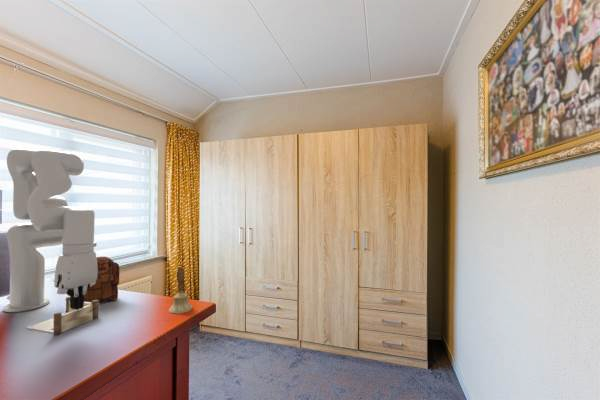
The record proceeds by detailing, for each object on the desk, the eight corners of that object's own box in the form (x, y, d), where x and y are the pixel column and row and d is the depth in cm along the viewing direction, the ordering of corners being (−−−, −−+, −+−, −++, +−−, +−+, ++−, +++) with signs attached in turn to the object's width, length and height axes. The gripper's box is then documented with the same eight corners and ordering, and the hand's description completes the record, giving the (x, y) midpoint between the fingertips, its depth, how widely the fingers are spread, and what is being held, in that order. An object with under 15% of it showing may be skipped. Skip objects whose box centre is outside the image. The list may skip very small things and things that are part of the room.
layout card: (26, 328, 89) (26, 327, 89) (61, 316, 99) (61, 315, 99) (53, 333, 86) (53, 331, 86) (85, 320, 96) (85, 318, 96)
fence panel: (89, 318, 96) (89, 301, 96) (93, 319, 96) (93, 301, 96) (51, 334, 85) (52, 314, 85) (56, 335, 84) (56, 315, 84)
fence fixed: (64, 315, 100) (64, 298, 100) (70, 312, 102) (70, 296, 102) (94, 319, 96) (94, 302, 96) (99, 317, 98) (100, 300, 98)
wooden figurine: (83, 307, 107) (83, 260, 107) (82, 302, 112) (83, 257, 112) (120, 300, 114) (120, 256, 115) (117, 296, 119) (118, 254, 119)
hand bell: (181, 315, 100) (181, 270, 100) (163, 312, 103) (163, 268, 103) (197, 307, 108) (197, 265, 108) (180, 304, 111) (180, 263, 111)
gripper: (93, 244, 94) (91, 298, 95) (41, 252, 80) (40, 316, 80) (110, 245, 92) (108, 301, 93) (60, 254, 78) (59, 320, 78)
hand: (77, 308), depth 86 cm, fingers closed
